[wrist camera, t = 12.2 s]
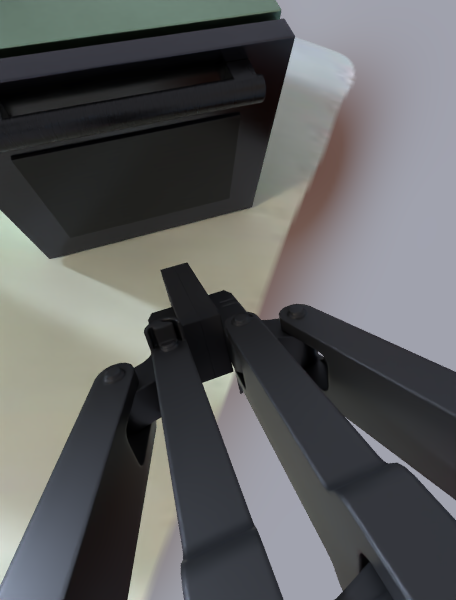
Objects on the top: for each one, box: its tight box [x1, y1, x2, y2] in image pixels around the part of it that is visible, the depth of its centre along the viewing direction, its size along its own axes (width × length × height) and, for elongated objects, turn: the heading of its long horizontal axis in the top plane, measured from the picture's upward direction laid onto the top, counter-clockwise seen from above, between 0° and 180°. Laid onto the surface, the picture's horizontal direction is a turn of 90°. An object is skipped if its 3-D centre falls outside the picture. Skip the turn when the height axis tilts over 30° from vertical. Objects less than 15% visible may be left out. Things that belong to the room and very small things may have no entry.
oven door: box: [0, 19, 295, 259], centre depth 23 cm, size 4×20×16 cm, turn 110°
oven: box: [0, 0, 281, 58], centre depth 26 cm, size 16×20×16 cm
